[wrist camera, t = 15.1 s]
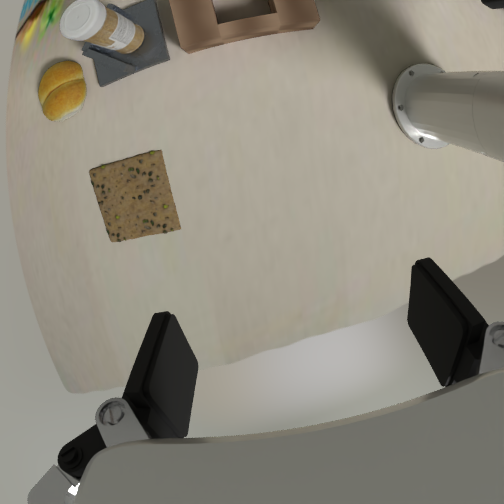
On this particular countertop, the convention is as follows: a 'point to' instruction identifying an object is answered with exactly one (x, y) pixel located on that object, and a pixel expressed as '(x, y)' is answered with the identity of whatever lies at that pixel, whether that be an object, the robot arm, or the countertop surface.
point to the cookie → (135, 197)
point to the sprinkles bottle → (100, 26)
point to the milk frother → (493, 3)
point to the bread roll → (62, 91)
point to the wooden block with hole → (237, 22)
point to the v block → (147, 55)
